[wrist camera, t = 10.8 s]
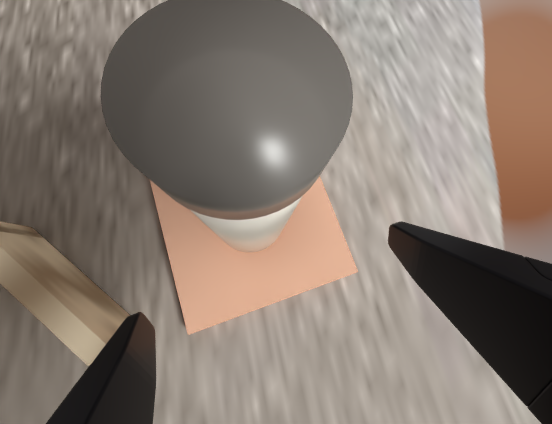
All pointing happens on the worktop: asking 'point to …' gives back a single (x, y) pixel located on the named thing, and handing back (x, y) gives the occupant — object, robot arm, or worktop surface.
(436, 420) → the worktop surface
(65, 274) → the birch stall
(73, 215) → the worktop surface
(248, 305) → the terracotta tile
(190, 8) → the cream spice jar
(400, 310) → the worktop surface
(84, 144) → the worktop surface
